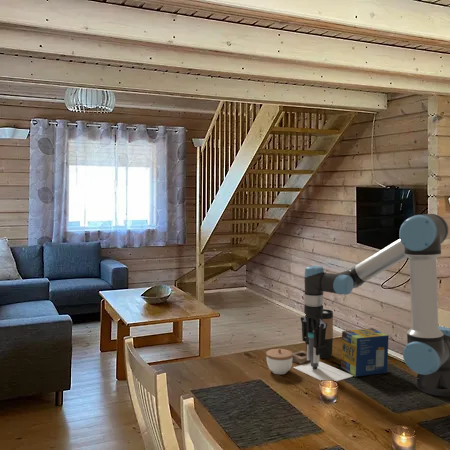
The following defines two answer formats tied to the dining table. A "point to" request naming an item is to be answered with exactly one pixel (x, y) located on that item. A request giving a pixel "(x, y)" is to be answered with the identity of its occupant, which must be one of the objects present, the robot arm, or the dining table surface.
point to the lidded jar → (279, 360)
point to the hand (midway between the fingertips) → (313, 360)
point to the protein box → (364, 352)
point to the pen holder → (300, 357)
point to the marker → (311, 345)
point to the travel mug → (327, 334)
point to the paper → (323, 372)
